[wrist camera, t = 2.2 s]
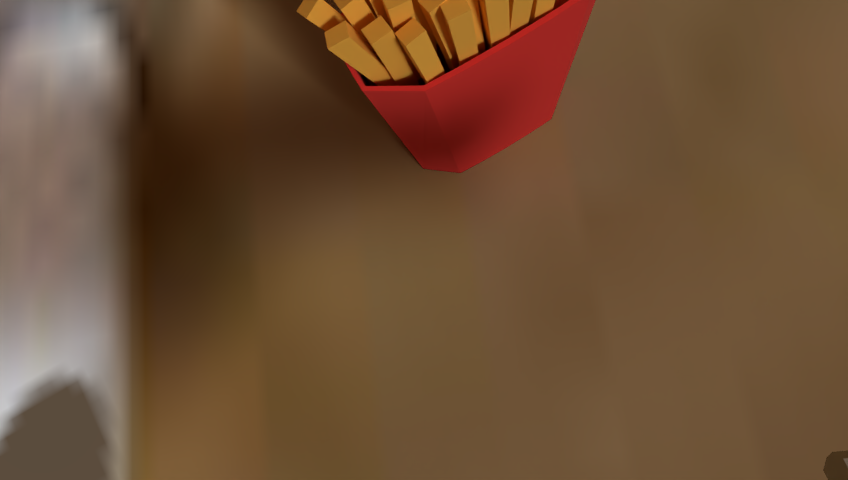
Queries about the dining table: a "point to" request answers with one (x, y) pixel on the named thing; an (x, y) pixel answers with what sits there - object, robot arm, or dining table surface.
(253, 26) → the dining table surface
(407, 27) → the french fries
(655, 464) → the dining table surface
